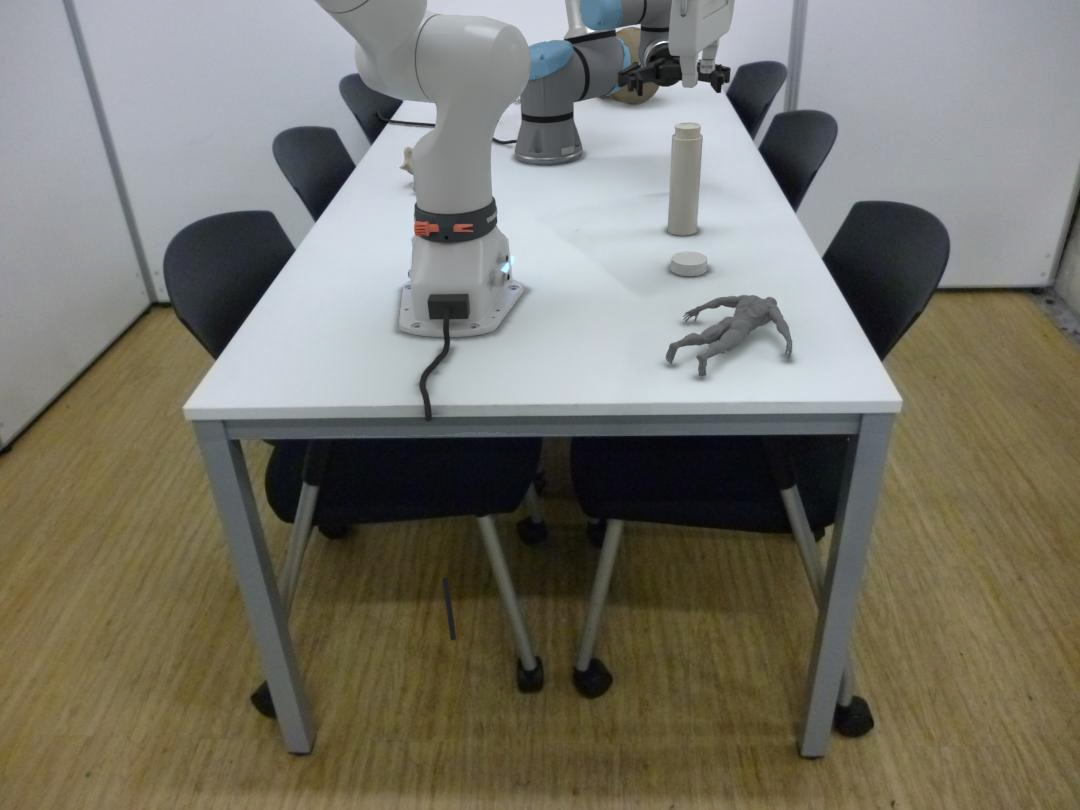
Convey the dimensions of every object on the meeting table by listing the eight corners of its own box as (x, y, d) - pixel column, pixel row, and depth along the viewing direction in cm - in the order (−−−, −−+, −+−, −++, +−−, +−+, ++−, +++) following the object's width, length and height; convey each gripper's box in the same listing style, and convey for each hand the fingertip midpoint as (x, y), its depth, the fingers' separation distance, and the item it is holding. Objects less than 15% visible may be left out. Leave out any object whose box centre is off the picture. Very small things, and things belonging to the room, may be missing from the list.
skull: (629, 73, 244) (653, 2, 221) (655, 132, 236) (683, 64, 214) (578, 80, 240) (598, 7, 217) (603, 139, 232) (626, 71, 210)
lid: (664, 272, 132) (665, 260, 131) (680, 260, 136) (681, 248, 135) (697, 279, 129) (697, 267, 128) (712, 266, 133) (713, 255, 132)
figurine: (740, 398, 101) (827, 332, 111) (741, 369, 98) (830, 304, 109) (633, 353, 111) (722, 297, 122) (633, 326, 108) (724, 270, 119)
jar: (686, 223, 149) (692, 120, 140) (702, 232, 145) (709, 126, 136) (662, 228, 148) (666, 124, 138) (677, 237, 144) (683, 131, 134)
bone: (420, 170, 164) (410, 138, 170) (401, 193, 168) (392, 160, 173) (460, 189, 171) (449, 158, 177) (441, 211, 175) (432, 179, 180)
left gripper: (709, -24, 99) (702, 97, 107) (745, -41, 115) (737, 66, 122) (658, -24, 102) (654, 94, 109) (700, -40, 117) (695, 64, 125)
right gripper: (727, 80, 163) (750, 106, 145) (600, 85, 164) (607, 111, 146) (730, 39, 159) (754, 60, 141) (600, 44, 160) (607, 66, 142)
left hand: (698, 79), depth 116 cm, fingers open, 8 cm apart
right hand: (680, 86), depth 144 cm, fingers open, 13 cm apart
